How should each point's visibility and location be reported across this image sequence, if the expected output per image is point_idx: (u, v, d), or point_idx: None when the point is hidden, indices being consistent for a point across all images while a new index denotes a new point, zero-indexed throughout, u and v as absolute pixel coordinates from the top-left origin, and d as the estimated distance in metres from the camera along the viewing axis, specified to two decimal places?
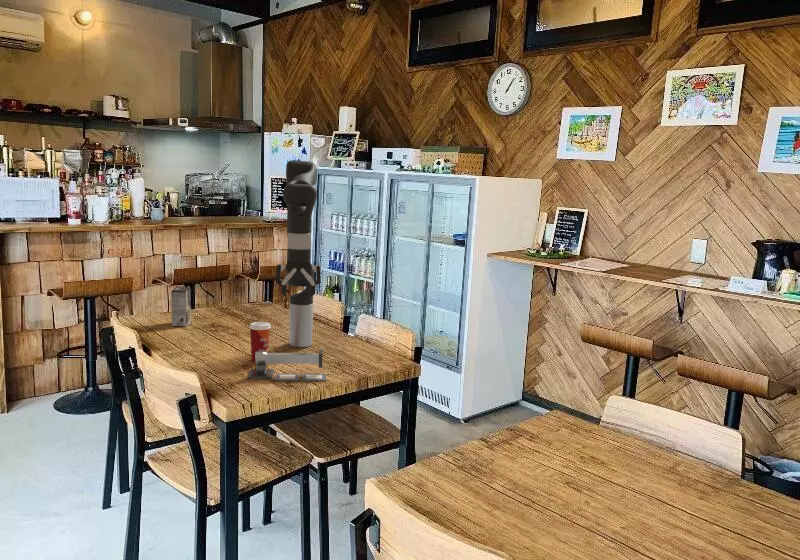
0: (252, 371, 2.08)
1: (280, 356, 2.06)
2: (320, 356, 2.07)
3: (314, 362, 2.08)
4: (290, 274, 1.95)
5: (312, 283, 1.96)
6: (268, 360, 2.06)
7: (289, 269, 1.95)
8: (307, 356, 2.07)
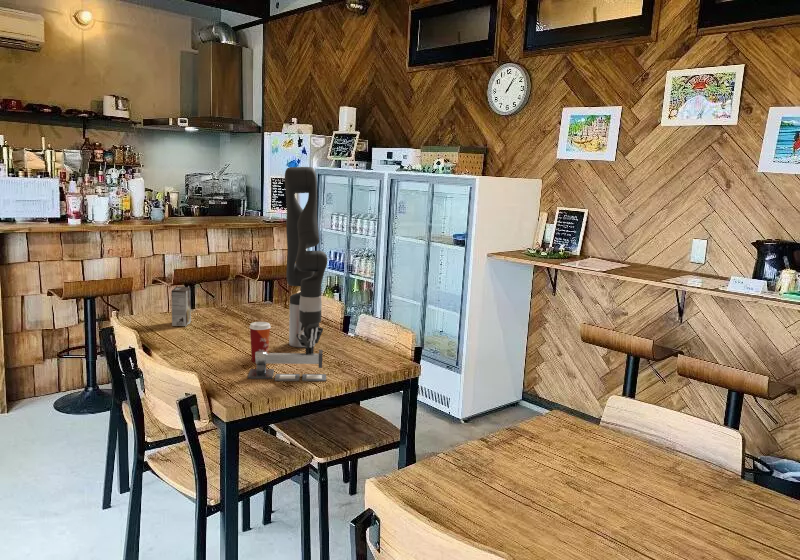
0: (252, 371, 2.08)
1: (280, 356, 2.06)
2: (320, 356, 2.06)
3: (314, 362, 2.08)
4: (311, 335, 2.08)
5: (313, 344, 2.11)
6: (268, 360, 2.06)
7: (307, 331, 2.07)
8: (307, 356, 2.07)
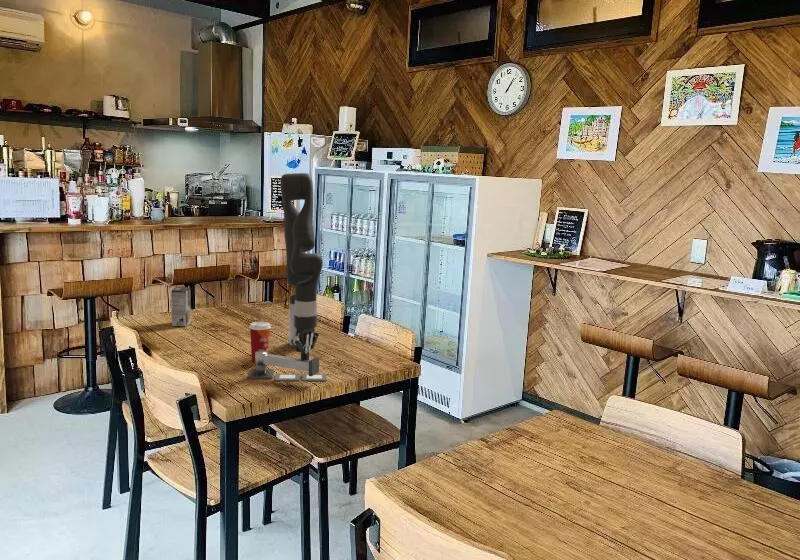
0: (252, 371, 2.08)
1: (276, 358, 2.03)
2: (310, 364, 1.98)
3: (306, 369, 2.00)
4: (307, 341, 2.01)
5: (309, 350, 2.04)
6: (266, 361, 2.05)
7: (302, 336, 2.00)
8: (300, 362, 2.00)
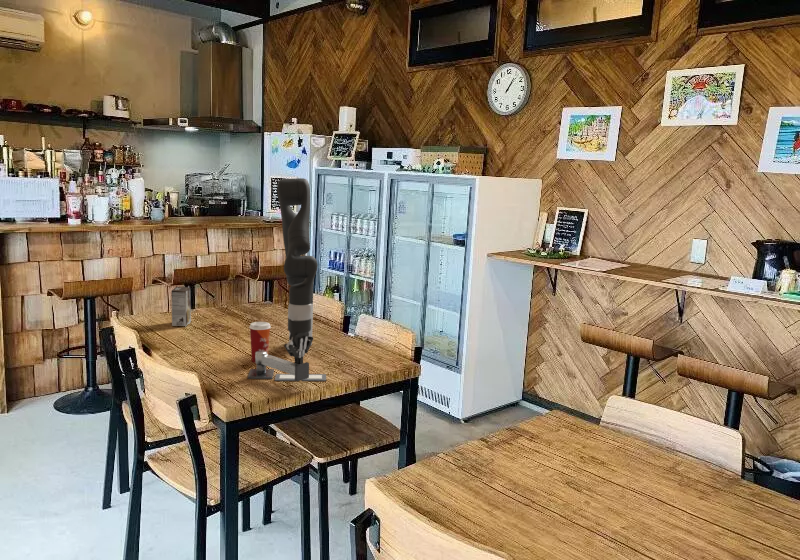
0: (252, 371, 2.08)
1: (271, 360, 2.02)
2: (296, 368, 1.93)
3: (294, 374, 1.95)
4: (301, 345, 1.97)
5: (303, 354, 1.99)
6: (263, 361, 2.04)
7: (296, 340, 1.95)
8: (289, 366, 1.96)
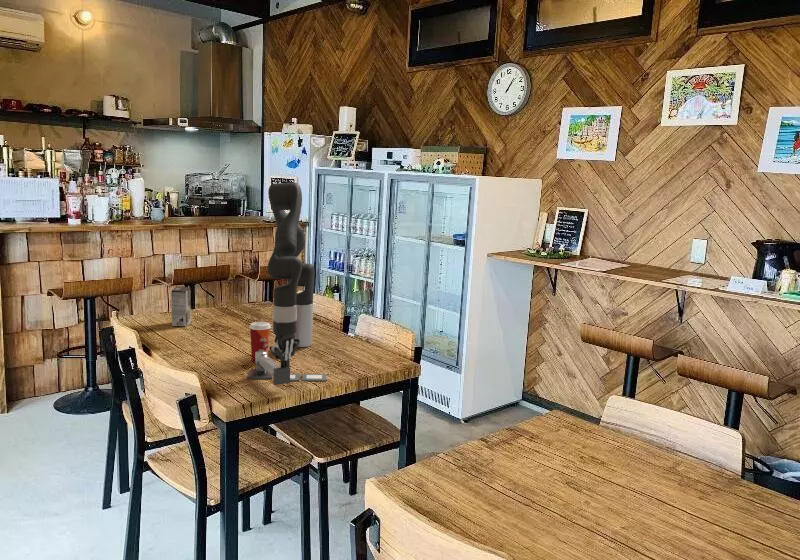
0: (252, 371, 2.08)
1: (264, 361, 2.00)
2: (274, 372, 1.88)
3: None
4: (286, 348, 1.93)
5: (289, 357, 1.95)
6: (260, 362, 2.04)
7: (282, 343, 1.91)
8: (273, 368, 1.93)
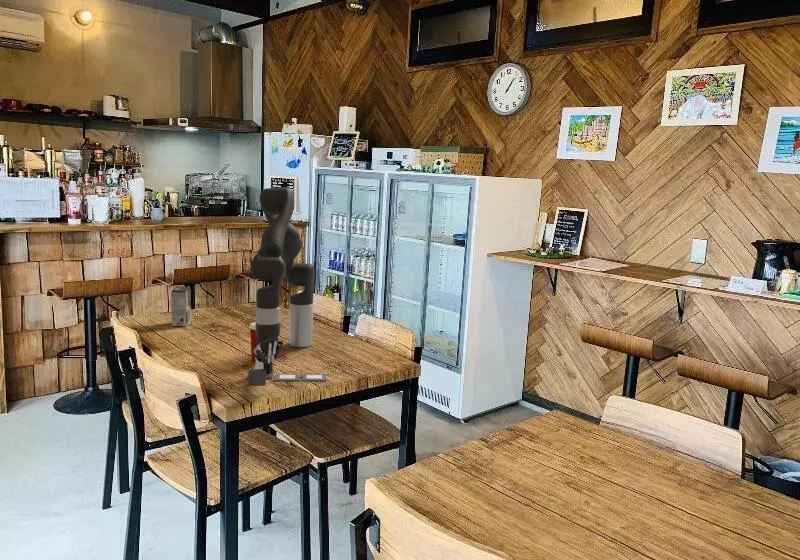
0: None
1: (256, 361, 2.00)
2: (249, 372, 1.87)
3: None
4: (269, 350, 1.90)
5: (272, 360, 1.92)
6: None
7: (264, 345, 1.88)
8: None
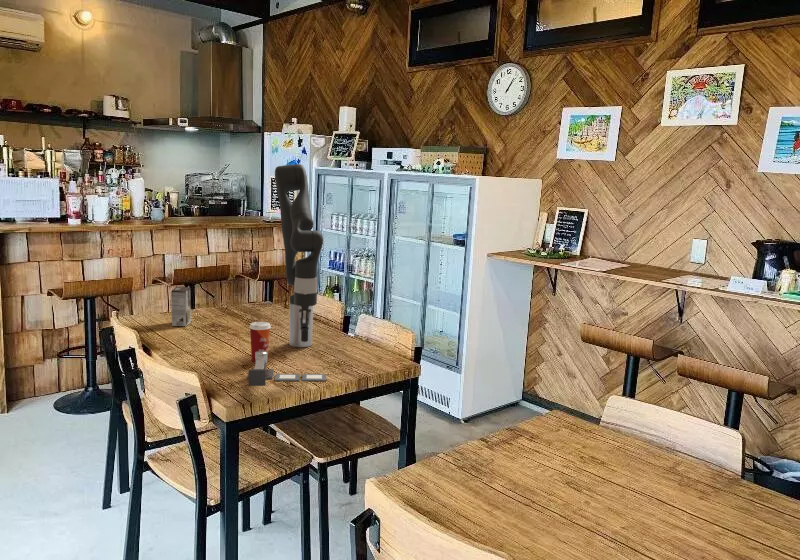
0: None
1: (256, 361, 2.00)
2: (249, 372, 1.87)
3: None
4: (310, 318, 2.02)
5: (308, 327, 2.04)
6: None
7: (308, 313, 2.00)
8: None
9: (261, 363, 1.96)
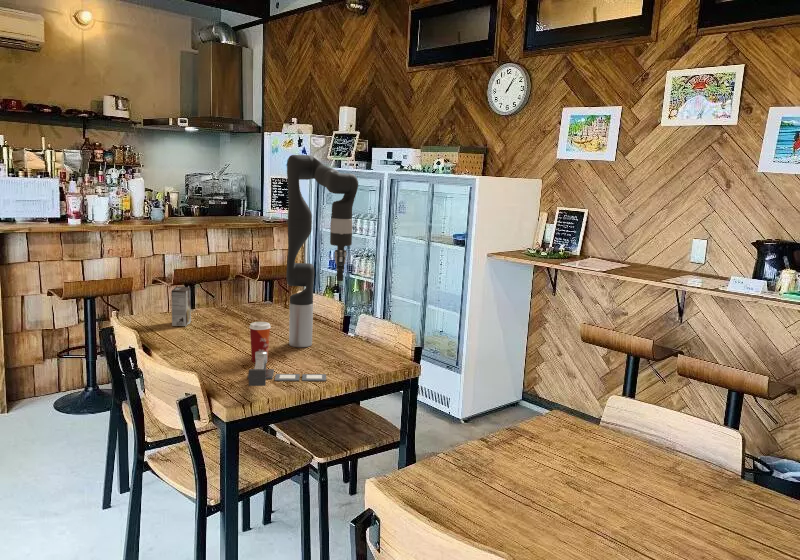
0: None
1: (256, 361, 2.00)
2: (249, 372, 1.87)
3: None
4: (345, 258, 2.11)
5: None
6: None
7: (344, 253, 2.09)
8: None
9: (261, 363, 1.96)
